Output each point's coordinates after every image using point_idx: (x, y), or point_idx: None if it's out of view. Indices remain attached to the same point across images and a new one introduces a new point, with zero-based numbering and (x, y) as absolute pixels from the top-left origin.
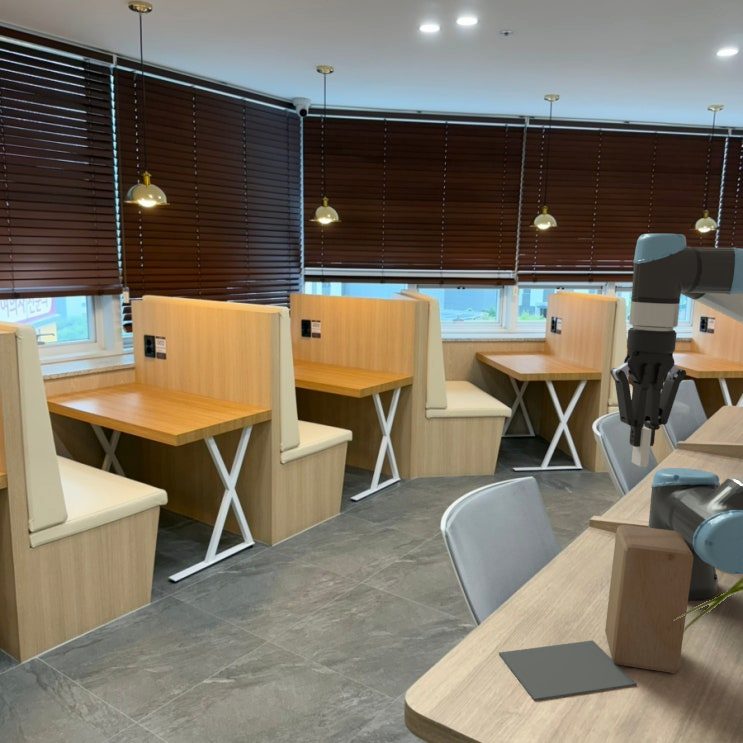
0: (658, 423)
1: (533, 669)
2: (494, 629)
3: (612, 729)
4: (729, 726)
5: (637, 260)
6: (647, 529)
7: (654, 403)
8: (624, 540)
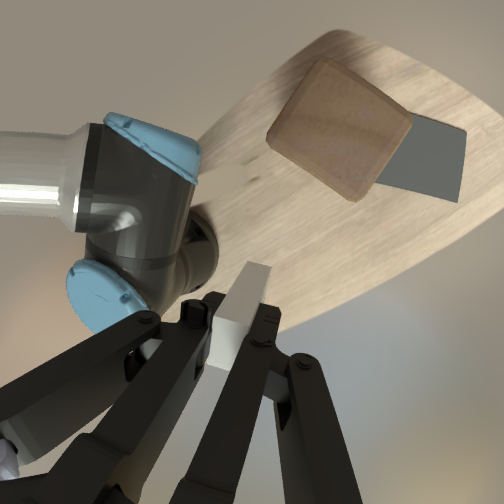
0: (167, 328)
1: (446, 165)
2: (435, 241)
3: (429, 74)
4: (331, 34)
5: None
6: (326, 158)
7: (161, 391)
8: (400, 140)
